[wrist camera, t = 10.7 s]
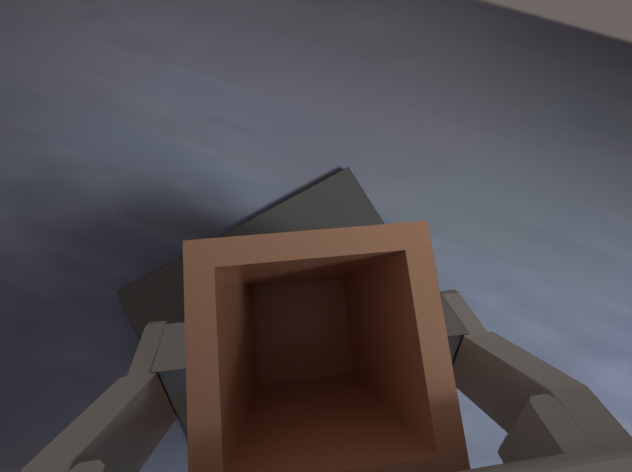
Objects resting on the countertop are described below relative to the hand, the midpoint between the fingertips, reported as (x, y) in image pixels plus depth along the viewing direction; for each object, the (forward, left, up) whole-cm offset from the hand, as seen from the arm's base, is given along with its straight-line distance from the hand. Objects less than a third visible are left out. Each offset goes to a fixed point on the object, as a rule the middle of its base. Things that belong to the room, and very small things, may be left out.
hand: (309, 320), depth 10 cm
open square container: (0, +1, -5) cm, 5 cm away
